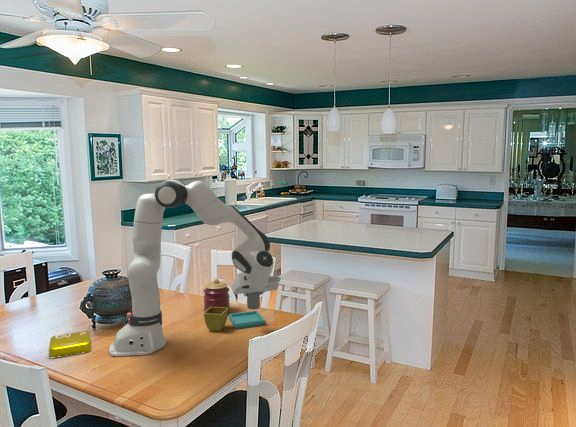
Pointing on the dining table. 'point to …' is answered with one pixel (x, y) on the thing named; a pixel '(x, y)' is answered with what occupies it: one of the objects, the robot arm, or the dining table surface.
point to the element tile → (70, 344)
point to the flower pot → (215, 318)
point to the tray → (246, 319)
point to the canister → (216, 295)
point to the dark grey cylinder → (253, 300)
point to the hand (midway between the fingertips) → (253, 294)
